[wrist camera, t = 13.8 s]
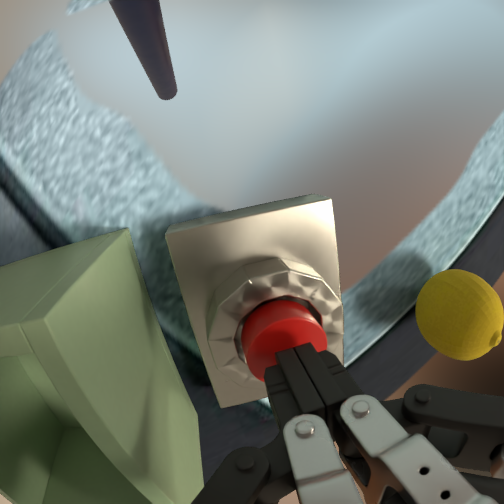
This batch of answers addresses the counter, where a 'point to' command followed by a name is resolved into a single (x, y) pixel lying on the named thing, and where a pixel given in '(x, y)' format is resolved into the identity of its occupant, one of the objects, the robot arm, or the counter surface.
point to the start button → (278, 333)
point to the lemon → (459, 314)
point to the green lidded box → (90, 384)
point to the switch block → (255, 280)
